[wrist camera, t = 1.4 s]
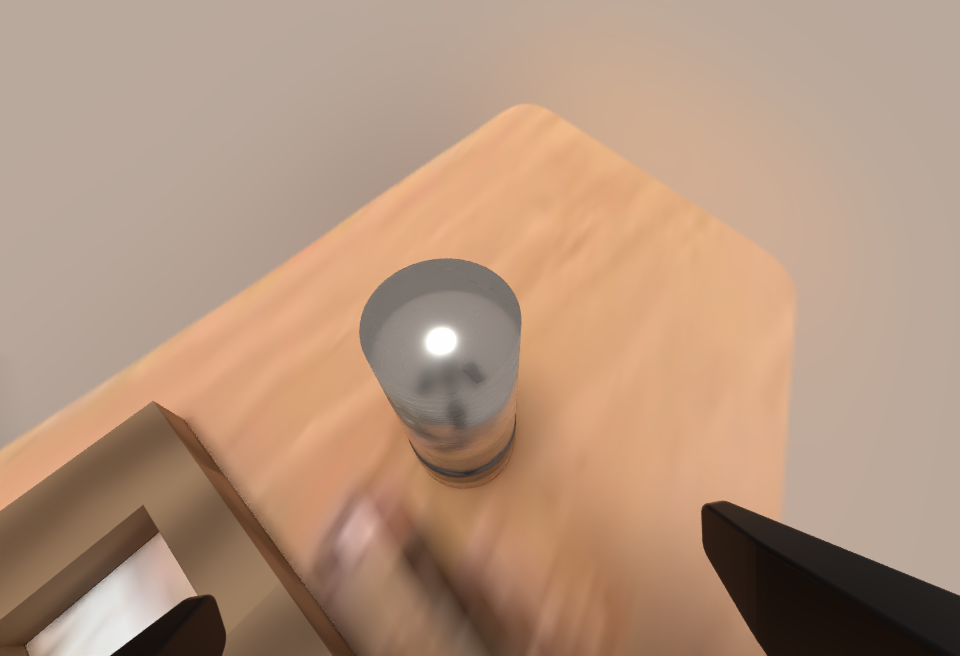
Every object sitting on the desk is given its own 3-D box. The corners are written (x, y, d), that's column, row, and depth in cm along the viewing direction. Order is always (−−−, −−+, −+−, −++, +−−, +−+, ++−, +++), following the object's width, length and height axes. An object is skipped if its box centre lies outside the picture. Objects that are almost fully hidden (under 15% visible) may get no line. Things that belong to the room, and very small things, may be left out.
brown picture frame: (368, 673, 18) (350, 681, 16) (58, 1042, 13) (-26, 1123, 11) (183, 419, 24) (153, 400, 22) (-69, 610, 20) (-138, 610, 17)
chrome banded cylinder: (532, 461, 22) (554, 351, 13) (437, 507, 21) (388, 425, 12) (488, 378, 25) (480, 238, 15) (402, 416, 24) (338, 290, 14)
